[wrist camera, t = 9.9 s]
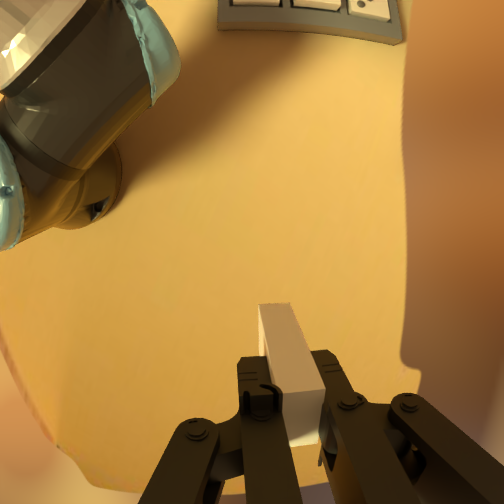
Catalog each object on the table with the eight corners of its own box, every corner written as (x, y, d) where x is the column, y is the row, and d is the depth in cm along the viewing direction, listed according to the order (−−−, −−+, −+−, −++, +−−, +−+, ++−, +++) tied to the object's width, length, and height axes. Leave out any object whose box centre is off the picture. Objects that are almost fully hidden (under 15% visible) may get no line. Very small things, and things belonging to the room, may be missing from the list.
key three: (347, 16, 35) (352, 10, 33) (343, -16, 33) (347, -22, 31) (384, 23, 36) (391, 18, 33) (379, -8, 34) (385, -14, 32)
